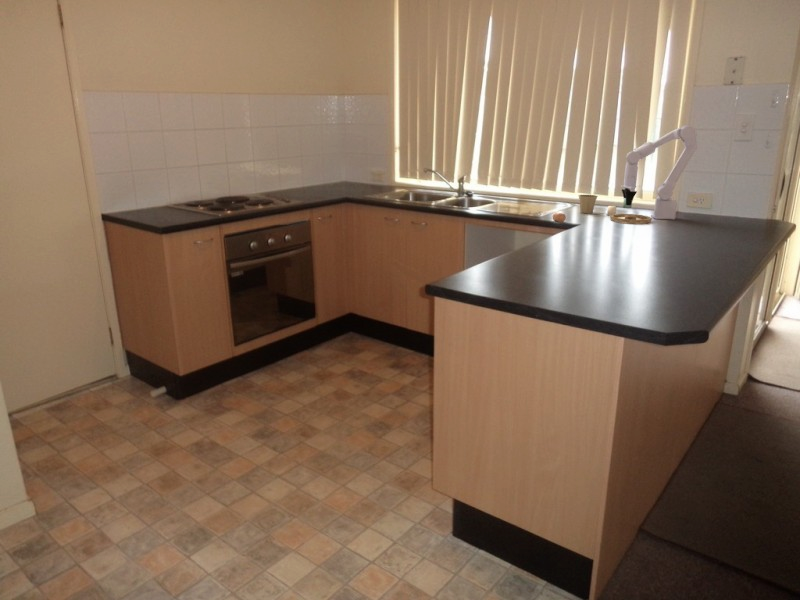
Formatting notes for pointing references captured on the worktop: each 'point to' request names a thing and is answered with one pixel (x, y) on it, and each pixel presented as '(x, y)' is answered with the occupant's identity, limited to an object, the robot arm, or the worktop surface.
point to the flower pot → (587, 203)
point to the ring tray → (630, 218)
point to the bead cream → (611, 210)
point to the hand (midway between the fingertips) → (627, 204)
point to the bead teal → (626, 205)
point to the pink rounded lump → (559, 217)
